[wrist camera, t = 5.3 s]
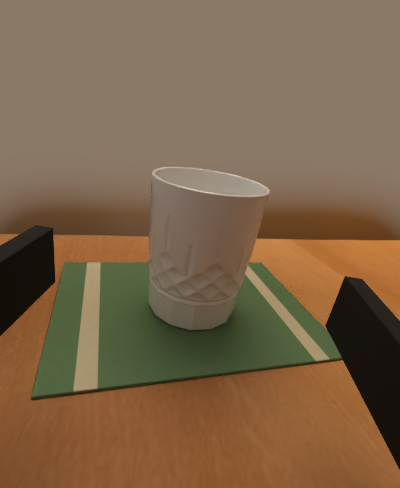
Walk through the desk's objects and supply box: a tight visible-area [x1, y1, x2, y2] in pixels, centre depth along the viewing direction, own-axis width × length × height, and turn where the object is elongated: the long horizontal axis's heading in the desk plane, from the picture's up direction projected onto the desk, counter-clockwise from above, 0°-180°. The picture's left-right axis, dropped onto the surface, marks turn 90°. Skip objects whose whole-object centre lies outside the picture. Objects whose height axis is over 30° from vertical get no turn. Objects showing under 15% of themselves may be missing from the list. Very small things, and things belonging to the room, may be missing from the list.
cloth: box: [31, 262, 343, 400], centre depth 24 cm, size 20×14×1 cm
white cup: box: [148, 167, 270, 330], centre depth 22 cm, size 8×8×10 cm
